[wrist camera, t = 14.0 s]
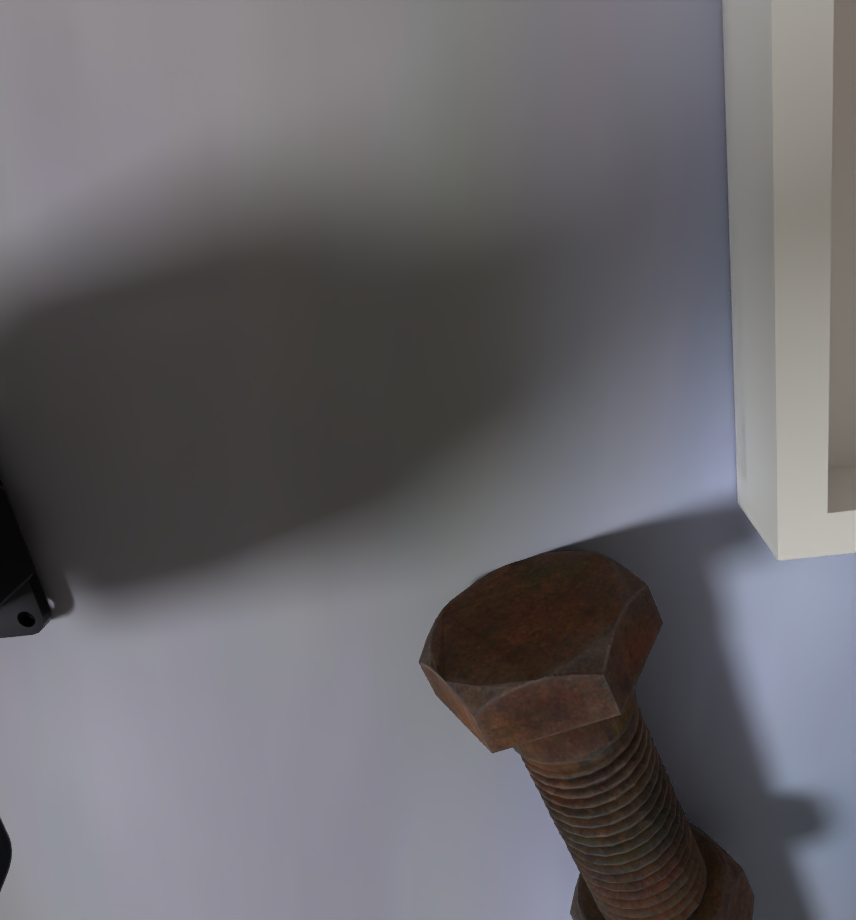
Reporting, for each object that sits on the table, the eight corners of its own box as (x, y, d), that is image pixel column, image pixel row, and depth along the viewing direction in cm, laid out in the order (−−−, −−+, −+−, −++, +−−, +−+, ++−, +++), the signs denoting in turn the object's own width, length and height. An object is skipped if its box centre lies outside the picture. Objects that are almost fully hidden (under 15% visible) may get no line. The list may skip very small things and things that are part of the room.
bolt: (657, 896, 27) (491, 543, 22) (813, 936, 24) (661, 534, 19) (597, 1073, 23) (378, 692, 18) (775, 1149, 20) (569, 712, 15)
